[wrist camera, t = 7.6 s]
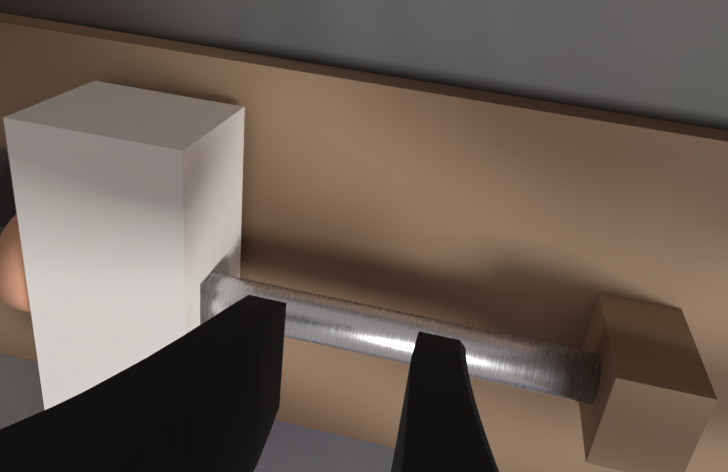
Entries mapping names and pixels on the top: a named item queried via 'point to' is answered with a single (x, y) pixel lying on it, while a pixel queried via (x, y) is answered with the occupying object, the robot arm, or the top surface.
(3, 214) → the end block
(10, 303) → the stop band
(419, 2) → the top surface
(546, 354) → the guide rod
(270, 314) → the robot arm
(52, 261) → the sleeve
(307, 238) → the guide board
